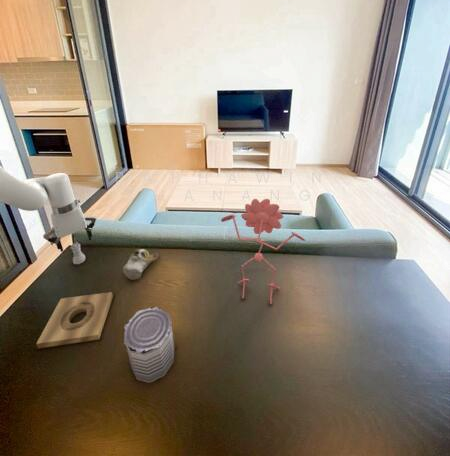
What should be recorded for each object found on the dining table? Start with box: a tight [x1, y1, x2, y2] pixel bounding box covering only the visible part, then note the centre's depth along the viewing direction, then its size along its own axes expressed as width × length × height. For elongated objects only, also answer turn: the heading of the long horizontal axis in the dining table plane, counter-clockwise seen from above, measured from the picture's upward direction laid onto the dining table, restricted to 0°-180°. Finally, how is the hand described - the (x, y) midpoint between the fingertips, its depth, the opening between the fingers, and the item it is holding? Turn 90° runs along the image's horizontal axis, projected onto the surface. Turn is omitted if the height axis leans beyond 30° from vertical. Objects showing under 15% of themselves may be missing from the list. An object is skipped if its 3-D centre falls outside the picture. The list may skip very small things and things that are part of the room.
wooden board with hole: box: [35, 291, 114, 350], centre depth 75 cm, size 16×14×2 cm
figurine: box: [220, 198, 306, 305], centre depth 80 cm, size 15×26×35 cm, turn 77°
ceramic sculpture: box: [122, 248, 161, 281], centre depth 92 cm, size 11×9×15 cm
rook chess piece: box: [70, 241, 87, 265], centre depth 96 cm, size 4×4×8 cm
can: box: [123, 306, 175, 384], centre depth 63 cm, size 11×11×12 cm
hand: (76, 243), depth 95 cm, fingers open, 9 cm apart
